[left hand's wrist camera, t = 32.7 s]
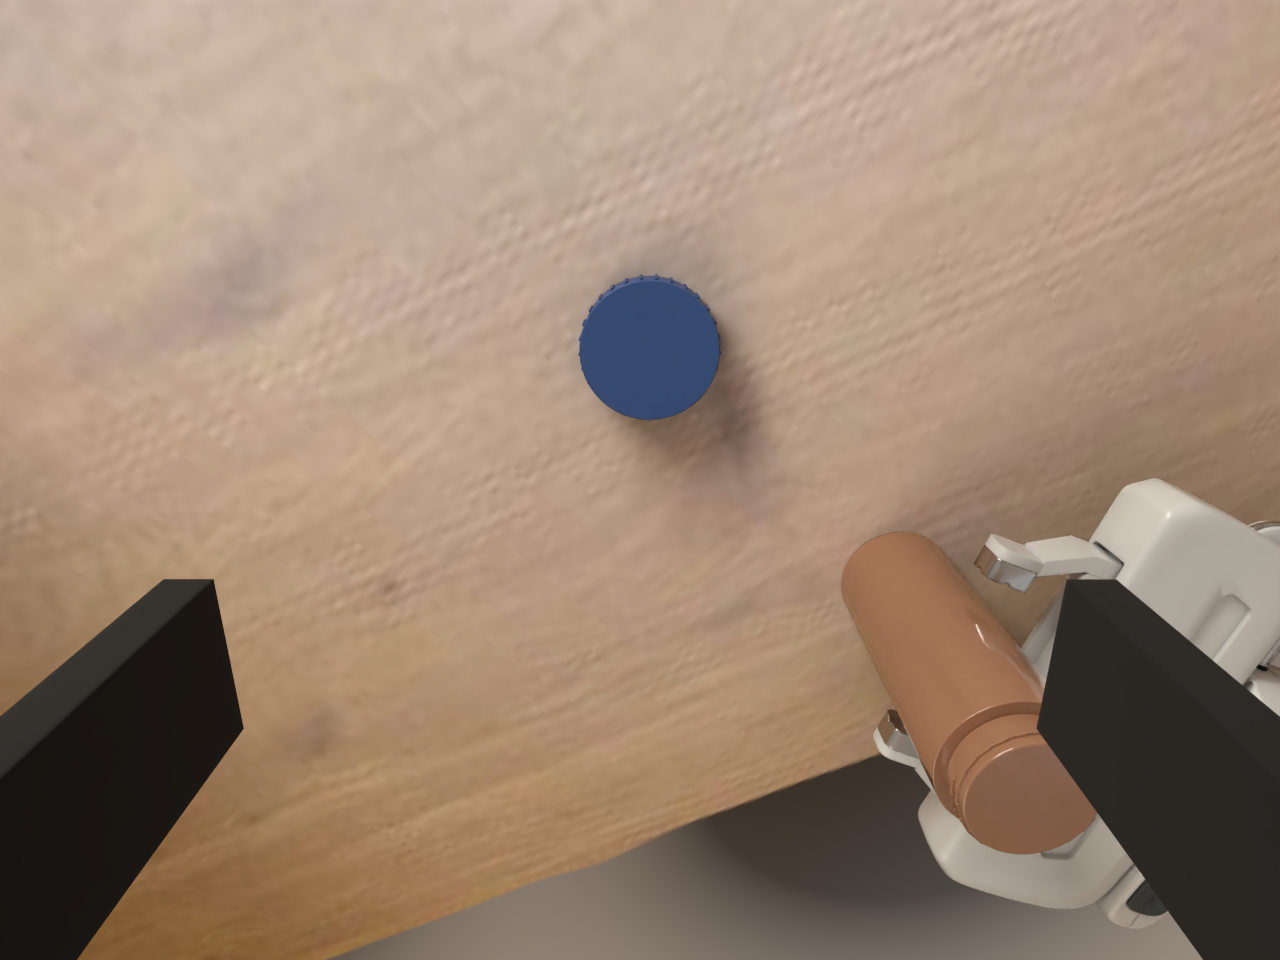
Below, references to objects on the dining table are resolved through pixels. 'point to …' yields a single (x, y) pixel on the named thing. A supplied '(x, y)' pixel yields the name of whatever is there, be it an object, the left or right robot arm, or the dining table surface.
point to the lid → (649, 347)
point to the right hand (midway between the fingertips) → (932, 646)
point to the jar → (963, 696)
